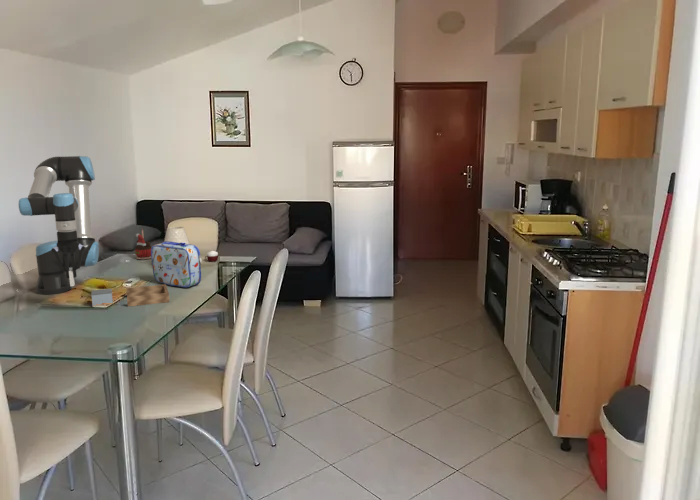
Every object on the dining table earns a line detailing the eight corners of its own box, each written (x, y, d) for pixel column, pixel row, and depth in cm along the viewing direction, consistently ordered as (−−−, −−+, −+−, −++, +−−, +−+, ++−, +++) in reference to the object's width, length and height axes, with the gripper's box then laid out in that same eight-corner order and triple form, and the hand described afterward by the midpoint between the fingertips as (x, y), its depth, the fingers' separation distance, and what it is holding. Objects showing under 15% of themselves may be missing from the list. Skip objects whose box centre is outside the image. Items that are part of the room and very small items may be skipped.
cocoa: (204, 263, 325) (202, 243, 322) (206, 260, 331) (204, 240, 328) (221, 262, 326) (219, 242, 323) (223, 259, 332) (220, 239, 329)
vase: (189, 273, 301) (186, 230, 296) (157, 273, 301) (153, 230, 296) (198, 265, 318) (196, 225, 313) (168, 265, 318) (165, 225, 313)
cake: (156, 258, 338) (154, 228, 334) (143, 260, 330) (141, 230, 327) (145, 256, 344) (142, 227, 340) (132, 259, 336) (129, 229, 332)
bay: (127, 306, 242) (126, 297, 241) (127, 296, 257) (126, 288, 256) (169, 302, 248) (168, 293, 247) (166, 292, 263) (165, 284, 262)
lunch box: (207, 285, 275) (204, 241, 271) (192, 290, 266) (189, 245, 262) (166, 279, 288) (163, 236, 284) (150, 283, 279) (147, 240, 275)
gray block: (92, 307, 242) (91, 294, 240) (93, 303, 247) (91, 290, 246) (112, 305, 245) (111, 292, 243) (112, 301, 250) (111, 288, 249)
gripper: (48, 232, 229) (54, 289, 234) (83, 230, 234) (88, 285, 238) (50, 230, 236) (56, 285, 240) (84, 228, 241) (89, 281, 245)
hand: (72, 285), depth 239 cm, fingers closed
